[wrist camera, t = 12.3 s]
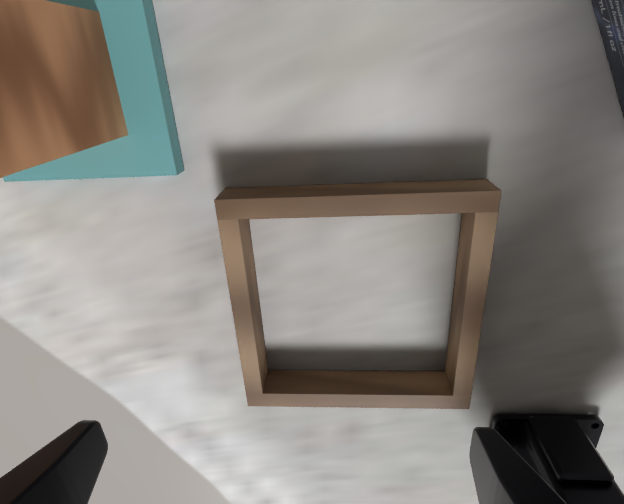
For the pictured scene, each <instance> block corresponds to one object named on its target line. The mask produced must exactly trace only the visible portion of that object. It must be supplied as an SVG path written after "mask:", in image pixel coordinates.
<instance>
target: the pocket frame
mask: <svg viewBox="0 0 624 504" xmlns="http://www.w3.org/2000/svg"><path fill="white" fill-rule="evenodd" d="M500 198H501V190H500V189H499V188H498V187H496V186H495V185H494V184H493V183H491V182H490V181H489V180H488V179H470V180H441V181H412V182H383V183H354V184H326V185H297V186H268V187H239V188H225V189H224V190H223V191H222V192H221V193H220V194H219V196H218V197H217V198H216V199H215V200H214V201H215V207H216V213H217V219H218V225H219V231H220V238H221V244H222V250H223V256H224V262H225V268H226V274H227V280H228V286H229V292H230V299H231V305H232V311H233V317H234V323H235V329H236V335H237V341H238V347H239V353H240V360H241V366H242V372H243V378H244V384H245V390H246V396H247V402H248V406H286V407H361V408H436V409H469V407H470V400H471V394H472V387H473V380H474V373H475V367H476V360H477V353H478V346H479V340H480V333H481V326H482V319H483V313H484V306H485V299H486V292H487V286H488V279H489V272H490V265H491V259H492V252H493V245H494V238H495V232H496V225H497V218H498V211H499V205H500ZM449 213H462V219H461V228H460V237H459V247H458V256H457V265H456V274H455V284H454V293H453V302H452V311H451V321H450V330H449V339H448V348H447V358H446V367H445V371H288V370H268V364H267V356H266V349H265V341H264V333H263V325H262V318H261V310H260V302H259V294H258V287H257V279H256V271H255V263H254V256H253V248H252V240H251V232H250V225H249V219H269V218H305V217H341V216H377V215H413V214H449Z"/></svg>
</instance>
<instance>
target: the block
mask: <svg viewBox="0 0 624 504" xmlns="http://www.w3.org/2000/svg"><path fill="white" fill-rule="evenodd" d="M127 135H128V131H127V127H126V123H125V118H124V114H123V110H122V106H121V102H120V97H119V93H118V89H117V85H116V81H115V76H114V72H113V68H112V64H111V60H110V55H109V51H108V47H107V43H106V39H105V34H104V30H103V26H102V22H101V18H100V13H99V12H98V11H93V10H89V9H84V8H79V7H75V6H70V5H65V4H60V3H56V2H51V1H46V0H0V178H2V177H5V176H8V175H11V174H14V173H17V172H20V171H23V170H26V169H29V168H31V167H34V166H37V165H40V164H43V163H46V162H49V161H52V160H55V159H58V158H61V157H64V156H67V155H70V154H73V153H76V152H79V151H82V150H85V149H88V148H91V147H94V146H97V145H100V144H103V143H106V142H109V141H112V140H115V139H118V138H121V137H124V136H127Z"/></svg>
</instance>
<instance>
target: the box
mask: <svg viewBox="0 0 624 504" xmlns="http://www.w3.org/2000/svg"><path fill="white" fill-rule="evenodd" d="M592 4H593V8H594V12H595V15H596V18H597V21H598V25H599V28H600V32H601V35H602V38H603V42H604V46H605V49H606V53H607V57H608V60H609V63H610V67H611V71H612V74H613V78H614V81H615V85H616V89H617V92H618V96H619V101H620V104H621V107H622V111H623V115H624V0H592Z"/></svg>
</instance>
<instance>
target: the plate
mask: <svg viewBox="0 0 624 504" xmlns="http://www.w3.org/2000/svg"><path fill="white" fill-rule="evenodd" d="M46 1H51V2H56V3H60V4H65V5H70V6H75V7H79V8H84V9H89V10H93V11H98V12H99V13H100V18H101V22H102V26H103V30H104V34H105V39H106V43H107V47H108V51H109V55H110V60H111V64H112V68H113V72H114V76H115V81H116V85H117V89H118V93H119V97H120V102H121V106H122V110H123V114H124V118H125V123H126V127H127V131H128V135H127V136H124V137H121V138H118V139H115V140H112V141H109V142H106V143H103V144H100V145H97V146H94V147H91V148H88V149H85V150H82V151H79V152H76V153H73V154H70V155H67V156H64V157H61V158H58V159H55V160H52V161H49V162H46V163H43V164H40V165H37V166H34V167H31V168H29V169H26V170H23V171H20V172H17V173H14V174H11V175H8V176H5V177H3V179H4V181H5V182H9V181H35V180H62V179H88V178H114V177H141V176H167V175H178V174H179V173H181V172H182V171H184V166H183V161H182V156H181V150H180V145H179V140H178V135H177V129H176V124H175V119H174V114H173V108H172V103H171V98H170V93H169V87H168V82H167V77H166V72H165V66H164V61H163V56H162V51H161V45H160V40H159V35H158V30H157V24H156V19H155V14H154V9H153V3H152V0H46Z"/></svg>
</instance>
